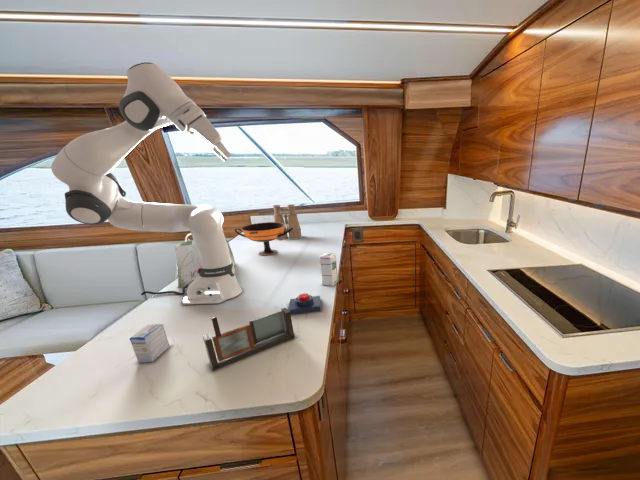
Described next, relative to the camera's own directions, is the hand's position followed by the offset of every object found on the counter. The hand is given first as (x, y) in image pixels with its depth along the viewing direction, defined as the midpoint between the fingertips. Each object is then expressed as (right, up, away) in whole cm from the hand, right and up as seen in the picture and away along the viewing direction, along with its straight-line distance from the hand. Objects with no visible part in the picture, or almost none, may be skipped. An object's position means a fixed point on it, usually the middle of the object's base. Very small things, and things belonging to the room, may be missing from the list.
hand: (228, 158), depth 97 cm
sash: (+8, -62, -8) cm, 63 cm away
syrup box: (+23, -44, +47) cm, 68 cm away
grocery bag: (-44, -40, +60) cm, 85 cm away
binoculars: (-30, -13, +133) cm, 137 cm away
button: (+18, -49, +22) cm, 56 cm away
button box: (+18, -52, +23) cm, 60 cm away
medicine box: (-20, -63, -5) cm, 66 cm away
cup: (-29, -27, +96) cm, 104 cm away
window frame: (+11, -62, -4) cm, 63 cm away
